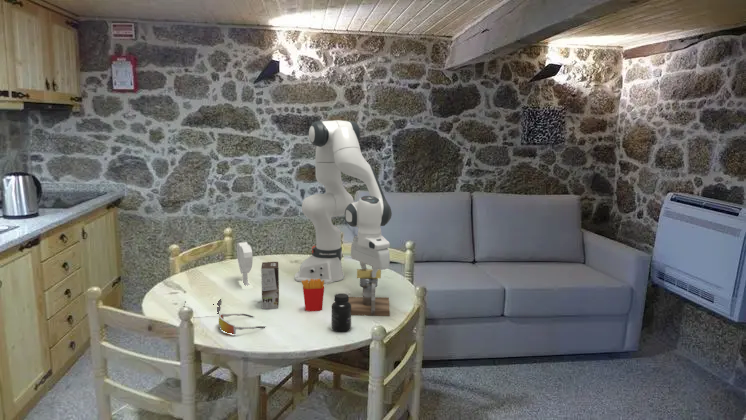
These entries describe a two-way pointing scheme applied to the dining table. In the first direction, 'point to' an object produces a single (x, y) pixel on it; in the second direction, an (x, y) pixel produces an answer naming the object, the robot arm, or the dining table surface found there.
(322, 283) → the french fries
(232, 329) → the sunglasses
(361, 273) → the coupling
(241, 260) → the heart sculpture
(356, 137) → the robot arm
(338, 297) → the supplement bottle
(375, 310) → the post stand
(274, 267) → the coffee box
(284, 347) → the dining table surface
